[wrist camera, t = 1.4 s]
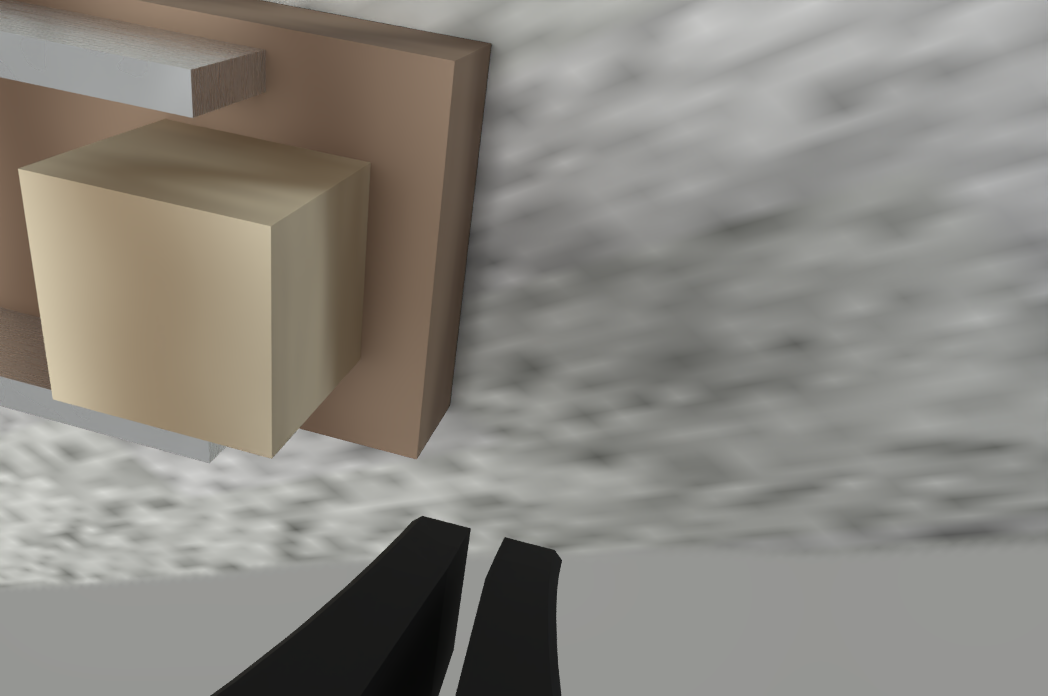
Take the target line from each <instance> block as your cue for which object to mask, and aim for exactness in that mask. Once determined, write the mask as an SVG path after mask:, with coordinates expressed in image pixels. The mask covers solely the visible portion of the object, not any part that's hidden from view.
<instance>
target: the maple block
mask: <svg viewBox="0 0 1048 696" xmlns="http://www.w3.org/2000/svg"><path fill="white" fill-rule="evenodd" d="M370 167H371V163H370V162H366V161H361V160H356V159H351V158H347V157H342V156H337V155H333V154H328V153H323V152H319V151H314V150H309V149H304V148H300V147H295V146H290V145H286V144H281V143H276V142H271V141H267V140H262V139H257V138H253V137H248V136H243V135H239V134H234V133H229V132H224V131H220V130H215V129H210V128H206V127H201V126H196V125H192V124H187V123H182V122H177V121H173V120H168V119H163V120H160V121H157V122H154V123H151V124H148V125H145V126H142V127H139V128H136V129H133V130H130V131H127V132H124V133H121V134H118V135H116V136H113V137H110V138H107V139H104V140H101V141H98V142H95V143H92V144H89V145H86V146H83V147H80V148H77V149H74V150H71V151H68V152H65V153H62V154H60V155H57V156H54V157H51V158H48V159H45V160H42V161H39V162H36V163H33V164H30V165H27V166H24V167H21V168H18V172H19V179H20V185H21V192H22V199H23V205H24V212H25V218H26V225H27V232H28V238H29V245H30V252H31V258H32V265H33V271H34V278H35V285H36V291H37V298H38V305H39V311H40V318H41V324H42V331H43V338H44V344H45V351H46V357H47V364H48V371H49V377H50V384H51V391H52V397H53V400H57V401H61V402H64V403H68V404H72V405H75V406H79V407H83V408H87V409H90V410H94V411H98V412H101V413H105V414H109V415H112V416H116V417H120V418H123V419H127V420H131V421H135V422H138V423H142V424H146V425H149V426H153V427H157V428H160V429H164V430H168V431H172V432H175V433H179V434H183V435H186V436H190V437H194V438H197V439H201V440H205V441H209V442H212V443H216V444H220V445H223V446H227V447H231V448H234V449H238V450H242V451H245V452H249V453H253V454H257V455H260V456H264V457H268V458H271V459H272V458H273V457H274V456H275V455H276V454H277V452H278V451H279V450H280V449H281V448H282V447H283V446H284V445H285V443H286V442H287V441H288V440H289V439H290V438H291V437H292V436H293V434H294V433H295V432H296V431H297V430H298V429H299V428H300V427H301V425H302V424H303V423H304V422H305V421H306V420H307V419H308V418H309V416H310V415H311V414H312V413H313V412H314V411H315V410H316V409H317V407H318V406H319V405H320V404H321V403H322V402H323V401H324V400H325V398H326V397H327V396H328V395H329V394H330V393H331V392H332V391H333V390H334V388H335V387H336V386H337V385H338V384H339V383H340V382H341V381H342V379H343V378H344V377H345V376H346V375H347V374H348V373H349V372H350V370H351V369H352V368H353V367H354V366H355V365H356V364H357V363H358V361H359V360H360V355H361V336H362V318H363V299H364V280H365V261H366V242H367V223H368V204H369V186H370Z"/></svg>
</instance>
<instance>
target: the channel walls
mask: <svg viewBox="0 0 1048 696" xmlns="http://www.w3.org/2000/svg"><path fill="white" fill-rule="evenodd" d="M0 77H2V78H6V79H11V80H16V81H21V82H25V83H30V84H35V85H39V86H44V87H49V88H54V89H58V90H63V91H68V92H73V93H77V94H82V95H87V96H91V97H96V98H101V99H106V100H110V101H115V102H120V103H125V104H129V105H134V106H139V107H143V108H148V109H153V110H158V111H162V112H167V113H172V114H177V115H181V116H186V117H191V118H194V117H197V116H200V115H203V114H205V113H208V112H211V111H214V110H217V109H220V108H222V107H225V106H228V105H231V104H234V103H236V102H239V101H242V100H245V99H248V98H251V97H253V96H256V95H259V94H262V93H265V92H266V50H265V49H260V48H255V47H250V46H245V45H240V44H235V43H230V42H225V41H219V40H214V39H209V38H204V37H199V36H194V35H189V34H184V33H179V32H174V31H169V30H163V29H158V28H153V27H148V26H143V25H138V24H133V23H128V22H123V21H118V20H112V19H107V18H102V17H97V16H92V15H87V14H82V13H77V12H72V11H67V10H61V9H56V8H51V7H46V6H41V5H36V4H31V3H26V2H21V1H16V0H0ZM0 406H3V407H6V408H10V409H13V410H17V411H21V412H24V413H28V414H32V415H35V416H39V417H43V418H46V419H50V420H54V421H57V422H61V423H64V424H68V425H72V426H75V427H79V428H83V429H86V430H90V431H94V432H97V433H101V434H105V435H108V436H112V437H115V438H119V439H123V440H126V441H130V442H134V443H137V444H141V445H145V446H148V447H152V448H156V449H159V450H163V451H167V452H170V453H174V454H177V455H181V456H185V457H188V458H192V459H196V460H199V461H203V462H207V463H210V462H211V461H212V460H213V459H214V458H215V457H216V456H217V455H218V454H219V453H220V452H221V451H222V450H223V449H224V448H225V447H226V446H223V445H220V444H216V443H212V442H209V441H205V440H201V439H197V438H194V437H190V436H186V435H183V434H179V433H175V432H172V431H168V430H164V429H160V428H157V427H153V426H149V425H146V424H142V423H138V422H135V421H131V420H127V419H123V418H120V417H116V416H112V415H109V414H105V413H101V412H98V411H94V410H90V409H87V408H83V407H79V406H75V405H72V404H68V403H64V402H61V401H57V400H53V397H52V391H51V384H50V377H49V371H48V364H47V357H46V351H45V344H44V338H43V331H42V324H41V318H40V317H37V316H33V315H29V314H25V313H21V312H17V311H13V310H9V309H5V308H1V307H0Z"/></svg>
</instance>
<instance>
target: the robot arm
mask: <svg viewBox="0 0 1048 696" xmlns="http://www.w3.org/2000/svg"><path fill="white" fill-rule="evenodd" d="M470 530H471V528H467V527H463V526H459V525H455V524H452V523H448V522H444V521H440V520H436V519H432V518H428V517H425V516H421V517H420V518H418V519H416V520H414V521H412V522H411V523H410V524H409V525H408V527H407V528H406V529H405V530H404V531H403V532H402V533H401V534H400V535H399V536H398V537H397V538H396V539H395V540H394V541H393V542H392V543H391V544H390V545H389V546H388V547H387V548H386V549H385V550H384V551H383V552H382V553H381V554H380V555H379V556H378V557H377V558H376V559H375V560H374V561H373V562H372V563H371V564H370V565H369V566H367V567H366V568H365V569H364V570H363V571H362V572H361V573H360V574H359V575H358V576H357V577H356V578H355V579H353V580H352V581H351V583H349V584H348V585H347V586H346V587H345V588H344V589H343V590H341V591H340V592H339V593H338V594H337V595H336V596H335V597H334V598H332V599H331V600H330V601H329V602H328V603H326V604H325V605H324V606H323V607H322V608H321V609H320V610H319V611H317V612H316V613H315V614H314V615H313V616H311V617H310V618H309V619H308V620H307V621H306V622H305V623H303V624H302V625H301V626H300V627H299V628H298V629H296V630H295V631H294V632H293V633H291V634H290V635H289V636H288V637H287V638H285V639H284V640H283V641H281V642H280V643H279V644H278V645H276V646H275V647H274V648H272V649H271V650H270V651H269V652H267V653H266V654H265V655H264V656H262V657H261V658H260V659H259V660H257V661H256V662H255V663H253V664H252V665H251V666H250V667H248V668H247V669H246V670H244V671H243V672H242V673H240V674H239V675H238V676H237V677H235V678H234V679H233V680H231V681H230V682H229V683H227V684H226V685H225V686H223V687H222V688H220V689H219V690H218V691H216V692H215V693H214V694H212V695H211V696H438V695H439V692H440V689H441V686H442V683H443V680H444V677H445V674H446V671H447V668H448V665H449V662H450V659H451V656H452V653H453V650H454V643H455V636H456V629H457V622H458V615H459V607H460V601H461V593H462V587H463V580H464V572H465V565H466V558H467V551H468V544H469V537H470ZM561 563H562V560H561V558H560V557H559V555H558V554H557V553H556V551H555V550H552V549H548V548H544V547H541V546H537V545H533V544H529V543H525V542H521V541H517V540H513V539H510V538H506V537H505V538H504V540H503V542H502V544H501V546H500V548H499V550H498V552H497V554H496V556H495V558H494V561H493V563H492V565H491V567H490V570H489V572H488V574H487V576H486V579H485V583H484V586H483V590H482V594H481V598H480V602H479V606H478V610H477V614H476V617H475V621H474V625H473V629H472V633H471V637H470V641H469V645H468V649H467V653H466V656H465V660H464V664H463V668H462V672H461V676H460V680H459V684H458V688H457V692H456V696H561V688H560V679H559V669H558V656H557V631H556V602H557V601H556V600H557V586H558V578H559V572H560V567H561Z"/></svg>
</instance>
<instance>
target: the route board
mask: <svg viewBox="0 0 1048 696" xmlns="http://www.w3.org/2000/svg"><path fill="white" fill-rule="evenodd" d="M16 1H21V2H26V3H31V4H36V5H41V6H46V7H51V8H56V9H61V10H67V11H72V12H77V13H82V14H87V15H92V16H97V17H102V18H107V19H112V20H118V21H123V22H128V23H133V24H138V25H143V26H148V27H153V28H158V29H163V30H169V31H174V32H179V33H184V34H189V35H194V36H199V37H204V38H209V39H214V40H219V41H225V42H230V43H235V44H240V45H245V46H250V47H255V48H260V49H265V50H266V92H265V93H262V94H259V95H256V96H253V97H251V98H248V99H245V100H242V101H239V102H236V103H234V104H231V105H228V106H225V107H222V108H220V109H217V110H214V111H211V112H208V113H205V114H203V115H200V116H197V117H194V118H191V117H186V116H181V115H177V114H172V113H167V112H162V111H158V110H153V109H148V108H143V107H139V106H134V105H129V104H125V103H120V102H115V101H110V100H106V99H101V98H96V97H91V96H87V95H82V94H77V93H73V92H68V91H63V90H58V89H54V88H49V87H44V86H39V85H35V84H30V83H25V82H21V81H16V80H11V79H6V78H2V77H0V307H1V308H5V309H9V310H13V311H17V312H21V313H25V314H29V315H33V316H37V317H40V311H39V305H38V298H37V291H36V285H35V278H34V271H33V265H32V258H31V252H30V245H29V238H28V232H27V225H26V218H25V212H24V205H23V199H22V192H21V185H20V179H19V172H18V168H21V167H24V166H27V165H30V164H33V163H36V162H39V161H42V160H45V159H48V158H51V157H54V156H57V155H60V154H62V153H65V152H68V151H71V150H74V149H77V148H80V147H83V146H86V145H89V144H92V143H95V142H98V141H101V140H104V139H107V138H110V137H113V136H116V135H118V134H121V133H124V132H127V131H130V130H133V129H136V128H139V127H142V126H145V125H148V124H151V123H154V122H157V121H160V120H163V119H168V120H173V121H177V122H182V123H187V124H192V125H196V126H201V127H206V128H210V129H215V130H220V131H224V132H229V133H234V134H239V135H243V136H248V137H253V138H257V139H262V140H267V141H271V142H276V143H281V144H286V145H290V146H295V147H300V148H304V149H309V150H314V151H319V152H323V153H328V154H333V155H337V156H342V157H347V158H351V159H356V160H361V161H366V162H370V163H371V167H370V186H369V204H368V223H367V242H366V261H365V280H364V299H363V318H362V336H361V355H360V360H359V361H358V363H357V364H356V365H355V366H354V367H353V368H352V369H351V370H350V372H349V373H348V374H347V375H346V376H345V377H344V378H343V379H342V381H341V382H340V383H339V384H338V385H337V386H336V387H335V388H334V390H333V391H332V392H331V393H330V394H329V395H328V396H327V397H326V398H325V400H324V401H323V402H322V403H321V404H320V405H319V406H318V407H317V409H316V410H315V411H314V412H313V413H312V414H311V415H310V416H309V418H308V419H307V420H306V421H305V422H304V423H303V424H302V425H301V427H300V429H304V430H307V431H311V432H315V433H319V434H322V435H326V436H330V437H334V438H338V439H341V440H345V441H349V442H353V443H357V444H360V445H364V446H368V447H372V448H376V449H379V450H383V451H387V452H391V453H395V454H398V455H402V456H406V457H410V458H414V459H417V458H418V456H419V455H420V453H421V451H422V450H423V448H424V447H425V445H426V443H427V442H428V440H429V439H430V437H431V435H432V434H433V432H434V431H435V429H436V427H437V426H438V424H439V422H440V421H441V419H442V418H443V416H444V414H445V413H446V411H447V410H448V408H449V406H450V400H451V391H452V382H453V374H454V365H455V356H456V348H457V339H458V330H459V321H460V313H461V304H462V295H463V287H464V278H465V269H466V260H467V252H468V243H469V234H470V226H471V217H472V208H473V199H474V191H475V182H476V173H477V165H478V156H479V147H480V138H481V130H482V121H483V112H484V104H485V95H486V86H487V77H488V69H489V60H490V51H491V44H490V43H485V42H480V41H474V40H469V39H464V38H458V37H453V36H448V35H442V34H437V33H432V32H426V31H421V30H416V29H410V28H405V27H400V26H394V25H389V24H384V23H378V22H373V21H368V20H362V19H357V18H352V17H346V16H341V15H336V14H330V13H325V12H320V11H314V10H309V9H304V8H298V7H293V6H288V5H282V4H277V3H272V2H266V1H261V0H16Z"/></svg>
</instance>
